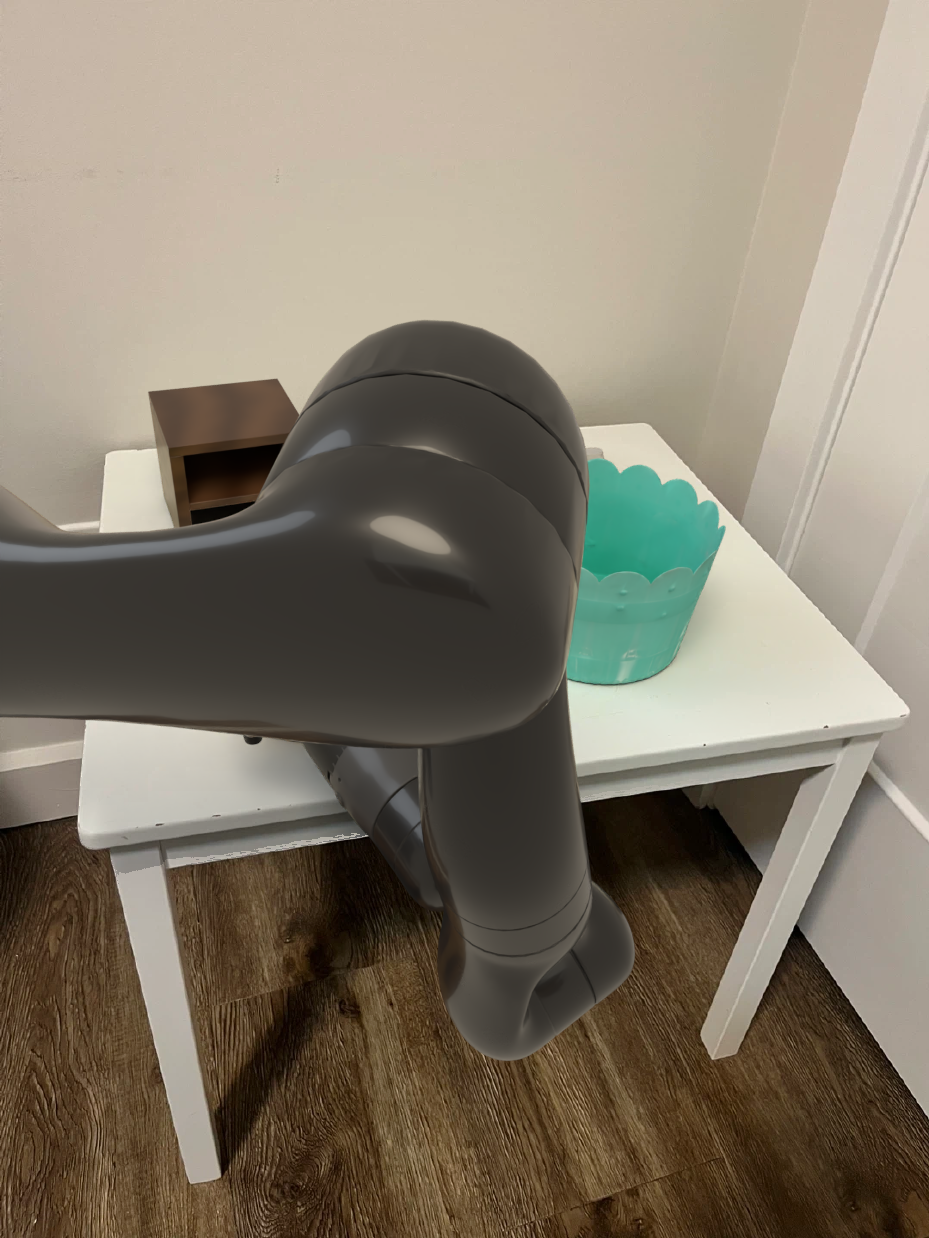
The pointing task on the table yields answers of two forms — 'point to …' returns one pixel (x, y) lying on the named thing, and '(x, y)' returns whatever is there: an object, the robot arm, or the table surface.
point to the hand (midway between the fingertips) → (277, 619)
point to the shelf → (218, 442)
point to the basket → (638, 572)
